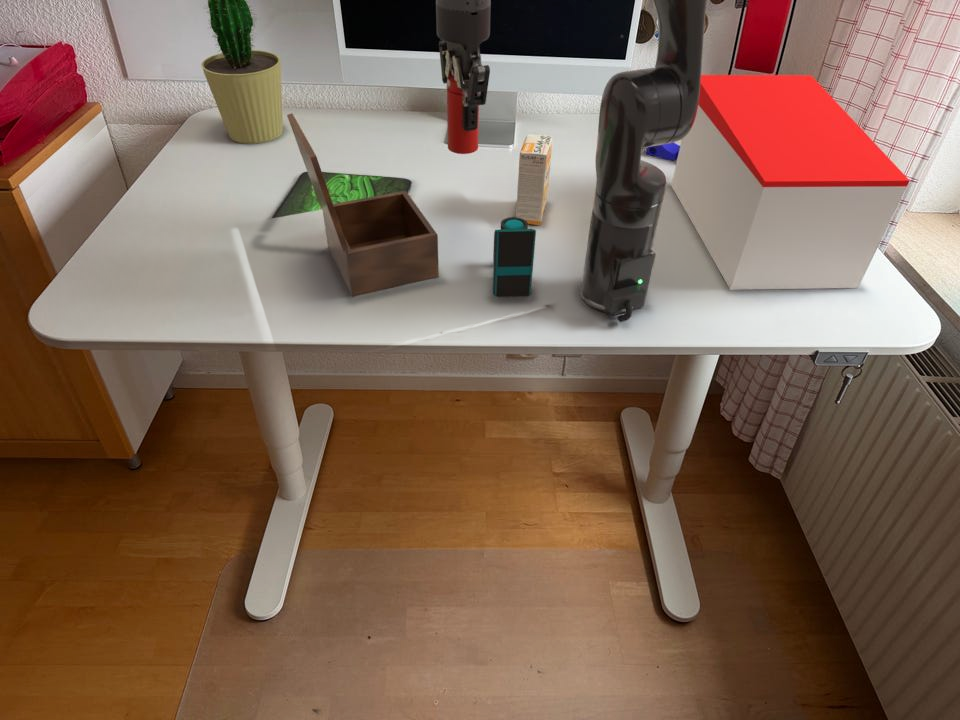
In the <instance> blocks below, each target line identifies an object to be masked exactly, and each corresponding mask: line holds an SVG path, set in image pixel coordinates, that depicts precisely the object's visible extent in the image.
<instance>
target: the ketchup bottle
mask: <svg viewBox="0 0 960 720" xmlns="http://www.w3.org/2000/svg"><path fill="white" fill-rule="evenodd" d="M463 82H464V83H469V80H463ZM467 95H468V89H467ZM462 105H463V103H462V94H461V90H459V89H458V87H457V80H456V71H455V69H454V76H453V77H451V78H450V87H448V89H447V88H446V112H447V113H446V115H447V118H446V119H447V123H446V124H447V126H446V127H447V149H448V151H450V152H451V153H454V154H458V155H468V154H473V153H475V152H477V151H478V150H479V126H480V125H479V124H480V123H479V121H480V120H479V119H480V116H479V115H480V105H478V127H477V129H475V130H470V131H465V130H464V129H463V127H462Z"/></svg>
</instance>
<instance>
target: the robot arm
mask: <svg viewBox="0 0 960 720" xmlns="http://www.w3.org/2000/svg"><path fill="white" fill-rule="evenodd" d="M651 2H652V4H653V7H654V11H655V14H656V19H657V20H656V21H657V29H658V33H657V34H658V35H657V36H658V38H657V52H656V60H655V65H654V67H648V68H641V69H634V70H633V69H632V70H626V71H621V72H618V73H616V74H614V75H612V76H611V77H610V78H609V80H608V81H607V82H606V85H605V87H604V89H603V92H602V95H601V100H600V106H599V115H598V127H597V137H596V138H597V141H596V150H595V160H594V161H595V162H594V163H595V165H594V166H595V177H596V182H595V188H594V189H595V190H594V197H593V202H592V203H593V204H592V210H591V216H590V224H589V229H588V237H587V243H586V249H585V250H586V251H585V257H584V265H583V271H582V278H581V283H580V287H579V294H580V297H581V300H583V301H584V303H586V305H588V306H590V307H591V308H593V309H595V310H597V311H601V312H605V313H606V315H608V316H615V315H618V317H617V321H618V322H619V323H624V322H626V321H628V320H630V318H631V317H632V315H633V311H634V310H637V309H641V308H644V307H645V304H646V299H647V295H648V290H649V286H650V281H651V277H652V273H653V268H654V264H655V259H656V253H655V251H654V250H653V246H654V242H655V237H656V233H657V228H658V224H659V219H660V215H661V210H662V207H663V202H664V198H665V194H666V189H667V176H666V175H665V173H664V172H663V171H662V170H661V169H660V168H659V167H657V166H656V165H654V164H652V163H650V162H648V161H646V160H641V159H642V150H643V149H644V148H647V147H651V146H657V145H662V144H668V143H673V142H674V143H676V142H679V141H682V139H683V138H684V137H685V136H686V135H687V134H688V133H689V131H690V130H691V128H692V126H693V124H694V121H695V117H696V114H697V109H698V104H699V96H700V84H701V75H702V69H703V68H702V67H703V54H704V52H703V51H704V36H705V25H706V24H705V23H706V15H707V8H708V7H707V6H708V0H651ZM491 5H492V0H435V13H436V14H435V16H436V20H435V21H436V36H437V38H439V41H438V49H439V50H438V51H439V60H440V61H439V62H440V70H441V80H442V84H444V85H445V84H446V86H445V87H446V90H447V89H448V87H450V78H451V77H453V76H454V69H455V71H456V80H457V87H458V89H459V90H461V94H462V103H463V105H462V127H463V129H464V130H465V131H470V130H475V129H477V127H478V105H479V106H485V105H486V102H487V97H488V90H489V89H488V88H489V83H490V74H491V67H490V65H488V64H485V65H483V64H482V55H481V50H480V45H481V44H482V43H483V42H485V41H487V40H488V39H489V38H490V35H491V11H492V9H491V7H492V6H491ZM463 80H469V83H464V82H463ZM467 89H468V95H467ZM622 313H624V314H622ZM619 314H620V315H619Z"/></svg>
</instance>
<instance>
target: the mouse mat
mask: <svg viewBox="0 0 960 720" xmlns="http://www.w3.org/2000/svg"><path fill="white" fill-rule="evenodd" d="M322 174H323V177H324V180H325V183H326V186H327V188H328V191H329V194H330V197H331V200H332V203H333V204H335V203H340V202H346V201H351V200H357V199H362V198H368V197H374V196H379V195H385V194H390V193H396V192H401V191H406V192H407V193H408V194H409V191H410V189H411V186H412V184H413V182H412V180H411V179H408V178H404V177H394V176H381V175H370V174H369V175H368V174H355V173H341V172H330V171H329V172H327V171H322ZM315 211H322V209H321V207H320V205H319V202H318V200H317V197H316V194H315V191H314V189H313V186H312V183H311V180H310V178H309V175H308V172H307V171H303V172H302V173H300V175H299V176H298V178H297V180H296V181H295V183H294V184H293V186H292V187H291V189H290V191H289V192H288V194H286V196H285V197H284V199H283V201H282V202H281V203H280V205H279V206H278V207H277V209H276V210H275V212H274V213H273V215H272V217H271V218H270V219H277V218H284V217H288V216H294V215H299V214H305V213H310V212H315Z"/></svg>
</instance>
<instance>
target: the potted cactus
mask: <svg viewBox="0 0 960 720" xmlns="http://www.w3.org/2000/svg"><path fill="white" fill-rule="evenodd" d="M248 4H250V1H247V0H207V5H205V7H203V10H204V9H206V8H208V11H206V13H208V14H209V23H210V27H208V29H211V30H212V32H213V35H212V38H214V41H212V42H213V43H214V42H215V40H216V48H219V49H220V50H218V51H217V54H214V55H211V56H208V57H206V59H204V60H203V61H202V63H201V69H202V70H203V74H204V76H205V79H206V82H207V84H208V87H209V89H210V91H211V94H212V97H213V99H214V101H215V105H216V107H217V109H218V112H219V114H220V117H221V119H222V122H223V125H224V127H225V130H226V132H227V135H228V136H229V138H230V139H231V140H232V141H234V142H235V143H240V144H248V145H251V144H252V145H253V144H261V143H262V144H263V143H267V142H271V141H273V140H276V139H278V138H279V137H281V135H283V130H284V126H283V124H284V123H283V96H282V95H283V94H282V93H283V92H282V67H281V62H282V59H281V57H280V56H279V55H278V54H276V53H274V52H270V51H266V50H259V49H254V48H255V45H253V42H254V37H255V35H257V33H255V32H254V29H253V27H254V28H255V29H256V28H257V26H256V25H255V23H257V21H258V20H257V17H254V16H255V15H256V16H257V14H256V13H254V11H253V12H252V9H250V8H251V7H252V5H248ZM252 15H253V16H252ZM253 33H254V34H253ZM220 51H221V52H220ZM219 52H220V53H219Z"/></svg>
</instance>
